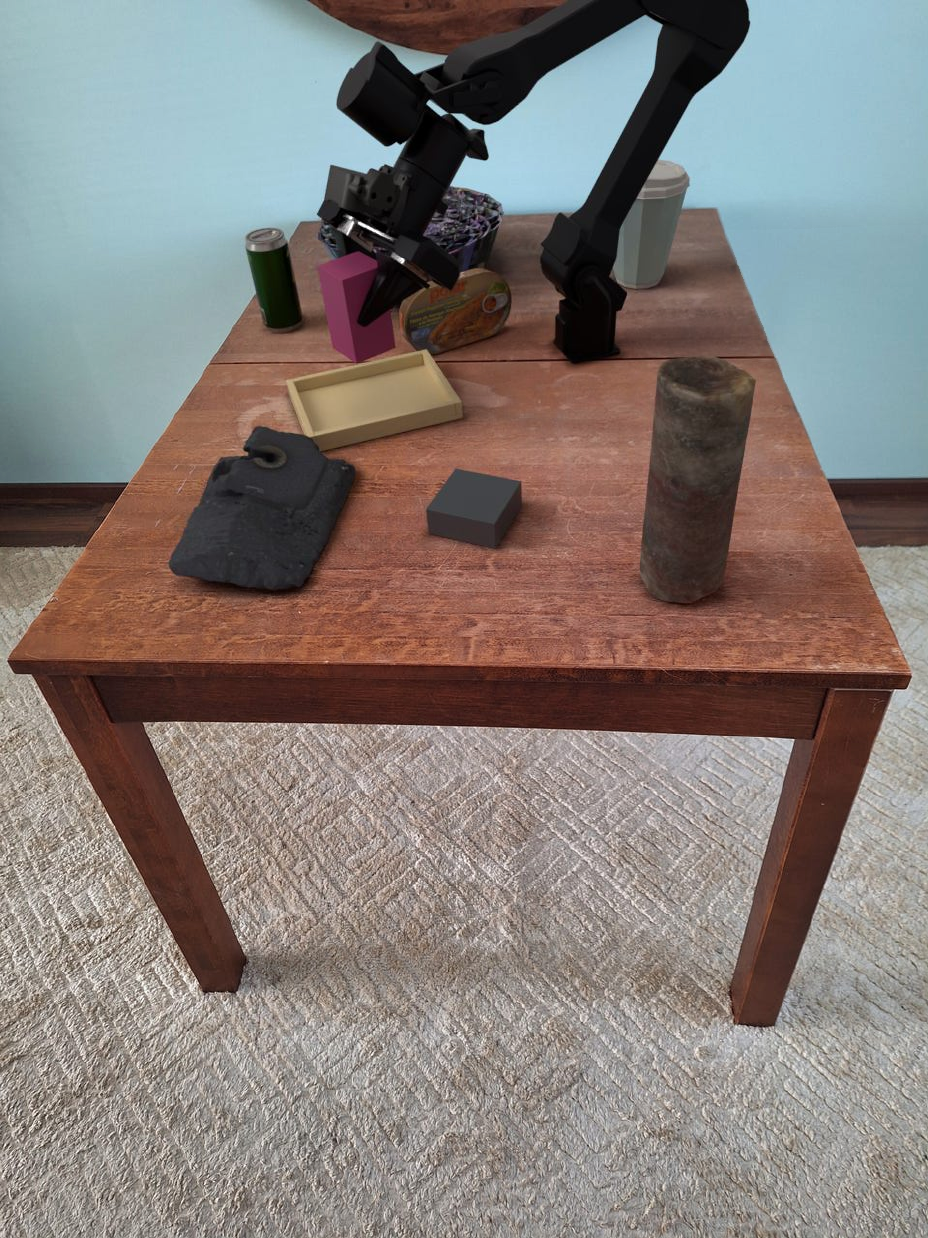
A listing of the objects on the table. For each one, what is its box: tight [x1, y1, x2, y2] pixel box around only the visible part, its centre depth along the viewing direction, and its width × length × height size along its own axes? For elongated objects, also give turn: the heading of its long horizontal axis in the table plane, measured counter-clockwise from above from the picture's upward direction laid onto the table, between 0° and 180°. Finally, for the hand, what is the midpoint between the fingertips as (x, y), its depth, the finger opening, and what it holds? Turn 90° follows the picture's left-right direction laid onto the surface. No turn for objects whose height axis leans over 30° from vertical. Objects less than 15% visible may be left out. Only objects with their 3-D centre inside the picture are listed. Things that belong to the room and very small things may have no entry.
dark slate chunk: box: [168, 425, 357, 591], centre depth 85 cm, size 15×22×5 cm
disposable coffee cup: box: [613, 159, 691, 290], centre depth 116 cm, size 11×11×15 cm
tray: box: [285, 349, 464, 453], centre depth 100 cm, size 18×14×2 cm
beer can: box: [244, 227, 304, 334], centre depth 114 cm, size 5×5×12 cm
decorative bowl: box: [317, 185, 505, 308], centre depth 124 cm, size 26×28×10 cm
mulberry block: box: [316, 251, 397, 365], centre depth 90 cm, size 5×5×9 cm
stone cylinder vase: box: [639, 355, 757, 604], centre depth 70 cm, size 8×7×20 cm
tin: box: [398, 268, 513, 356], centre depth 108 cm, size 15×3×8 cm, turn 117°
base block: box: [425, 468, 523, 549], centre depth 84 cm, size 7×7×3 cm
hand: (347, 316), depth 90 cm, fingers closed on mulberry block, 5 cm apart
